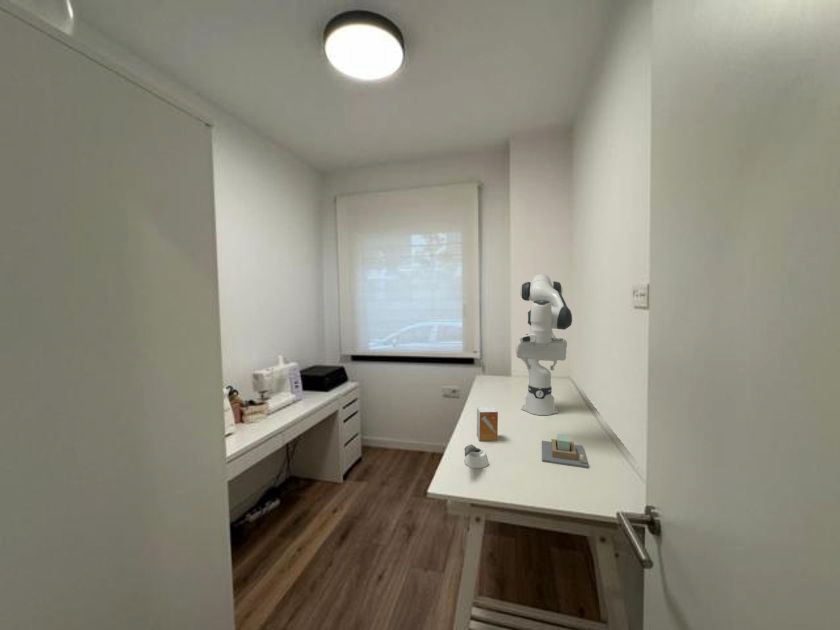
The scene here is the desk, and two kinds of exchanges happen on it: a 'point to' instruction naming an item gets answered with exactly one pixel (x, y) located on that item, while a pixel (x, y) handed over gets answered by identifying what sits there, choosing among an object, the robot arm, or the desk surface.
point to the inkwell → (475, 457)
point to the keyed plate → (564, 454)
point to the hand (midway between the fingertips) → (540, 369)
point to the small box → (487, 424)
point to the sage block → (563, 442)
